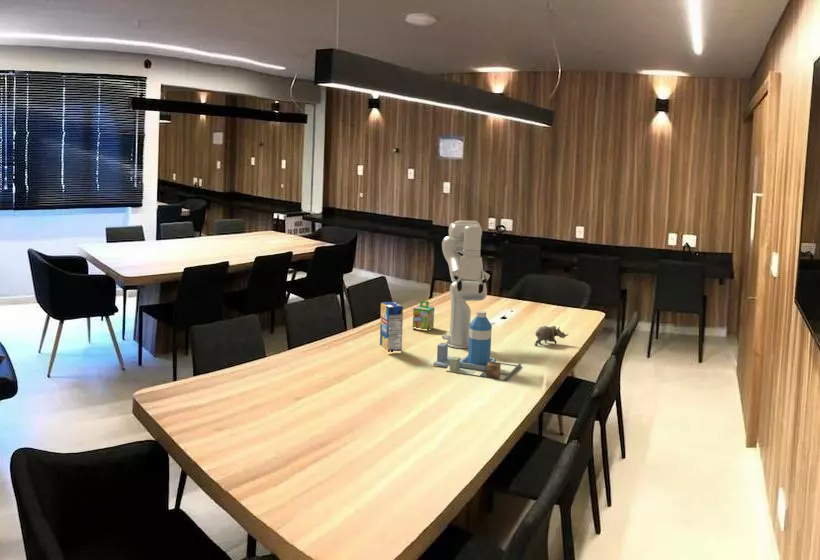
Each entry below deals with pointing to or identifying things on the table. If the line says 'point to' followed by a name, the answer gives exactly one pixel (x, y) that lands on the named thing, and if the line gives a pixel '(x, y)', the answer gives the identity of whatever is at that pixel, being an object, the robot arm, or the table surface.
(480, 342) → the water bottle
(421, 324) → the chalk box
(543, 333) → the rhinoceros figurine
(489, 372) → the walnut cube
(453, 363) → the strip
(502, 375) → the lane rails
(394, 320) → the beverage box
